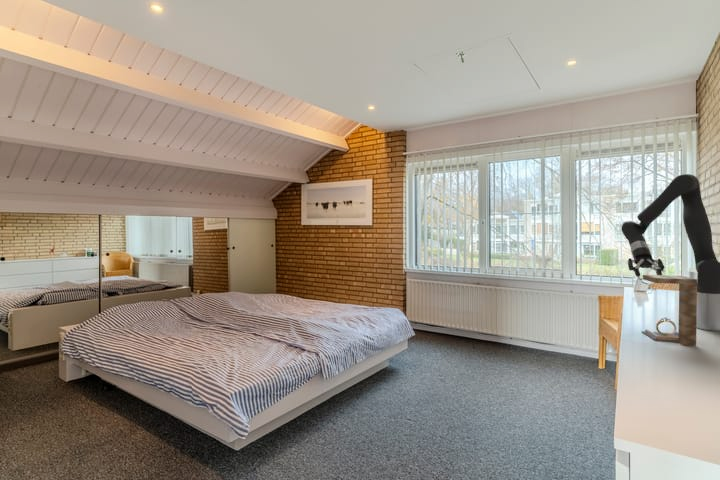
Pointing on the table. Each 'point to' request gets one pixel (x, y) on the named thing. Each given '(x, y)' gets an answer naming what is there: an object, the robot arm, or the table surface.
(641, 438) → the table surface
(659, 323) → the ring
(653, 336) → the seat
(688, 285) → the shelf
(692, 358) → the table surface
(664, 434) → the table surface
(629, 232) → the robot arm
